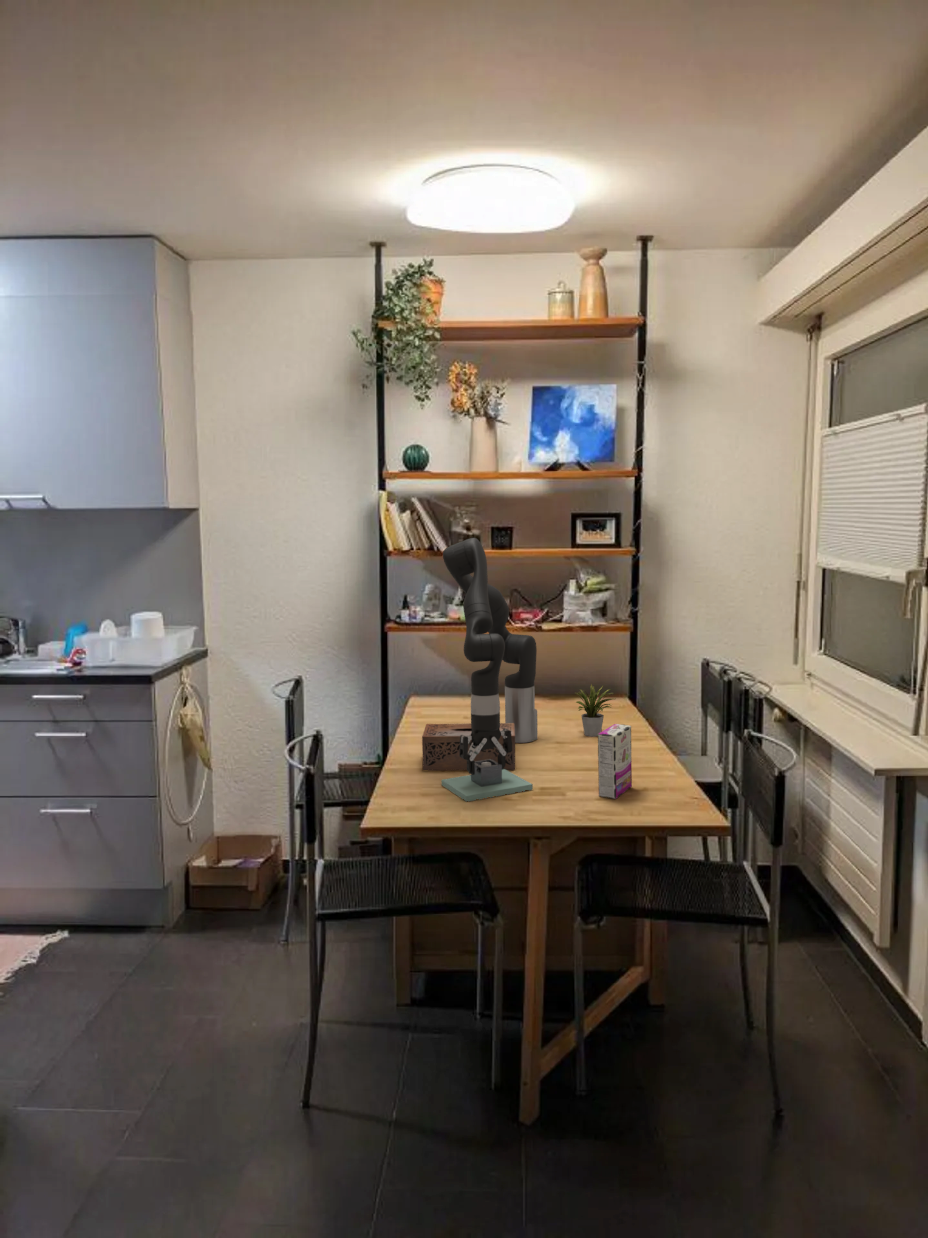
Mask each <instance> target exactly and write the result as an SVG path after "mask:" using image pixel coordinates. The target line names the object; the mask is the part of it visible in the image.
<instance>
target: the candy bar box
mask: <svg viewBox="0 0 928 1238" xmlns="http://www.w3.org/2000/svg"><path fill="white" fill-rule="evenodd" d="M597 758H598V759H597V762H598V763H597V764H598V797H600V796H601V797H600V798H606V797H607V799H614V800H617V799H618V798H619V797H620V796H622V795H623V794H624V793H625V792H627V791H628V790H629V789H631V788H632V786H633V785H632V783H633V782H632V781H633V780H632V779H633V778H632V725H628V724H619V723H614V724H613V725H611V726H609V727H607V728H605V729H604V730H601V732H600V733H599V734H598V736H597Z"/></svg>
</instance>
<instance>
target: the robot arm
mask: <svg viewBox="0 0 928 1238" xmlns="http://www.w3.org/2000/svg"><path fill="white" fill-rule="evenodd" d="M442 558H443V559H442V560H443V562H444V564H445V567H446V568H447V570H448V572H449V574H450V575H451V576H452V578H453V579H454V580H455V582H456V583H457V584H458V586H459V587H460V588H461V590H462V591H463V592H464V594H465V596H464V600H463V604H462V605H463V614H464V615H463V616H464V620H465V626H466V627H465V629H466V631H465V638H464V643H463V654H464V656H465V658H466V660H467V661H469V662H472V663H479V662H489V664H488V665H487V666H486V667H483V668H482V669H477V670H475V671H472V673H471V679H470V686H471V689H470V691H471V692H470V694H471V695H470V723H471V730H472V732H471V735H467V736H465V735H461V736H460V749H459V756H460V757H461V758H463V759H464V760H467V770H466V771H467V772H468V773H469V774H468V775H474V774H475V761H474V758H475V757H476V755H477V754H478V753H479V752H480V750H486V749H493V748H495V749H496V751H497V752H498V753H499V754H498V763H500V764H501V765H502V770H503V769H504V767H505V765H506V763H505V756H506V754H507V753H509V752H512V739H511V731H510V730H508V729H503V730H502V731H500V723H501V706H500V705H501V704H500V694H499V692H500V691H499V689H500V688H499V680H500V679H499V676H500V672H501V671H500V669H501V666H502V662H504V663H506V664H511V665H513V664H514V665H519V667H518V668H519V669H518V670H517V672H515V673H511V674H509V675H507V676H506V675H505V678H504V710H505V712H504V713H505V714H504V718H505V722H504V723H514V729H515V744H525V743H530V742H534V741H536V740H538V710H537V709H536V708H535V701H536V700H535V696H536V695H535V679H536V675H537V674H536V673H537V672H536V671H537V650H538V649H537V642H536V639H535V637H533V636H532V635H528V634H517V633H516V634H515V633H511V632H510V631H509V630H508V629H507V626H506V625H507V622H508V620H509V619H508V618H509V615H510V609H509V608H510V607H509V605H508V603H507V600H506V599H505V597H504V596H503V594H502V592H501V591H500V590H499V589H498V588H496V587H495V586H494V585H491V584H489V582H488V580H489V579H488V562H487V561H488V560H487V557H486V552H485V549H484V547H483V544H482V543H481V541H480V540H479V539H478V538H476V537H471V538H467V539H465V540H462V541H460V542H456V543H454V544H452V545H450V546H447V547H446V548H445V549H443V553H442ZM472 574H473V575H472ZM501 736H502V738H503V743H504V748H503V747H502V746H501V744H500V743H499V742H498V740H499V739H500V737H501ZM470 740H472V742H473V743H472V745H471V746H470V748H469V751H468V744H469V743H470Z"/></svg>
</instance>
